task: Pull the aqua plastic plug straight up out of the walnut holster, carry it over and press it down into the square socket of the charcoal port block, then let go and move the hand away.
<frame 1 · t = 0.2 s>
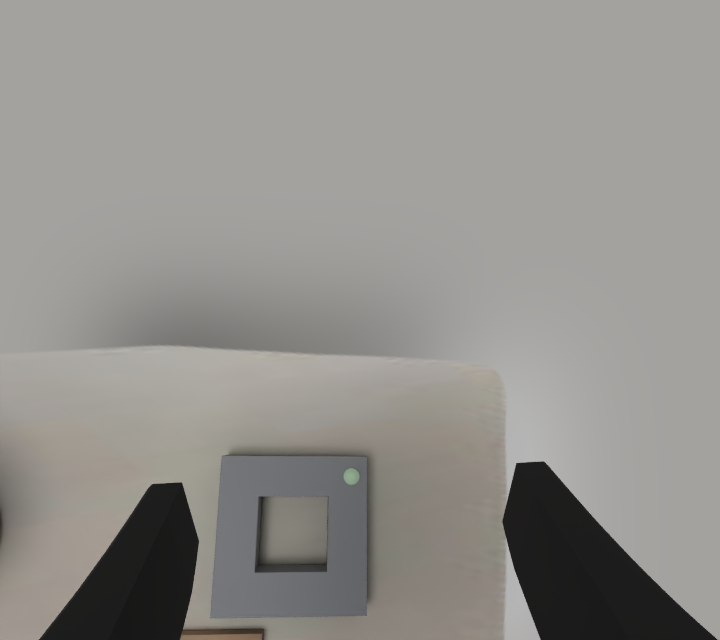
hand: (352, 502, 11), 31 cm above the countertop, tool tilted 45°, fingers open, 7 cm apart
port: (294, 528, 40), on the countertop
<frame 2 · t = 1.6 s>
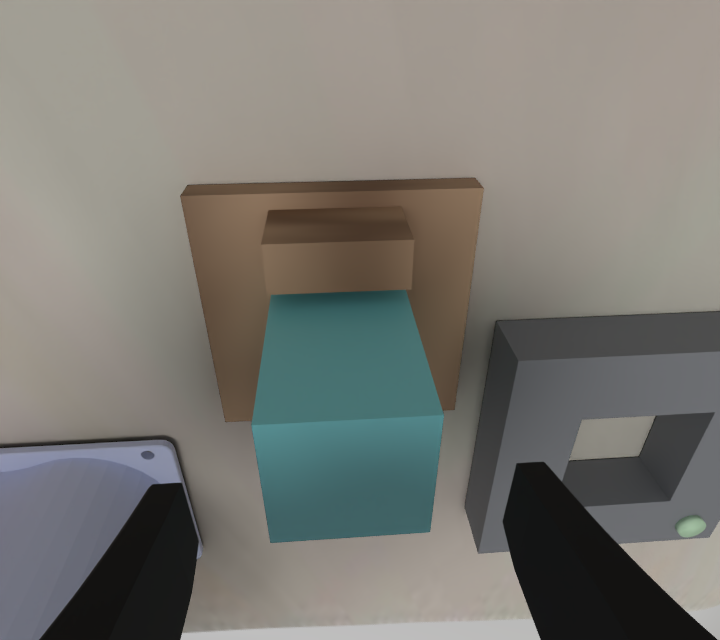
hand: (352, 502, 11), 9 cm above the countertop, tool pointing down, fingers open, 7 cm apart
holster: (337, 304, 18), on the countertop
port: (600, 419, 23), on the countertop
plug: (338, 319, 17), point 1 cm above the countertop, touching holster
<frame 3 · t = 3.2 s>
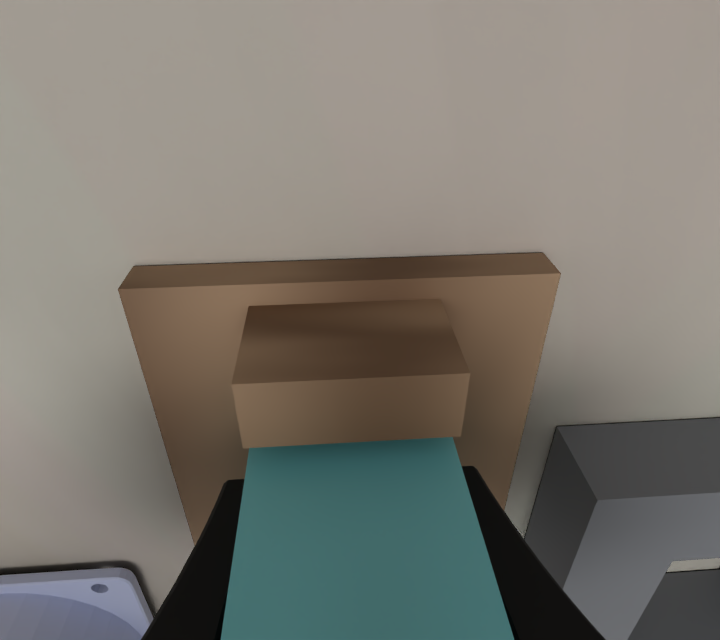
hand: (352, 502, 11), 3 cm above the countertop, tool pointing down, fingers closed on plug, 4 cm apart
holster: (346, 411, 14), on the countertop
port: (677, 532, 18), on the countertop
plug: (348, 438, 13), point 1 cm above the countertop, touching gripper, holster
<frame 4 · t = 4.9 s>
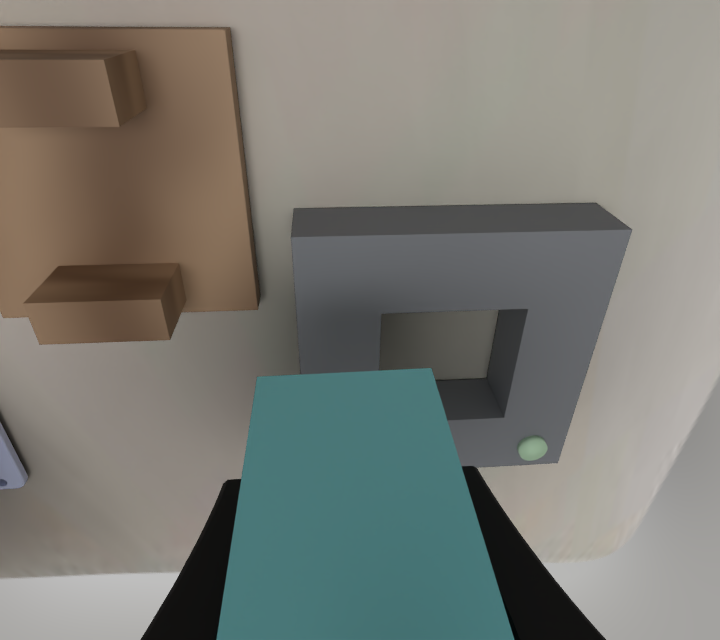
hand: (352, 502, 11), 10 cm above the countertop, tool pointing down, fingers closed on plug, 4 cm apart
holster: (110, 183, 17), on the countertop
port: (434, 332, 21), on the countertop
plug: (346, 434, 13), point 8 cm above the countertop, touching gripper
when the fingers open (3 cm above the countertop, at t = 7.0 s): plug drops 2 cm, resting in port.
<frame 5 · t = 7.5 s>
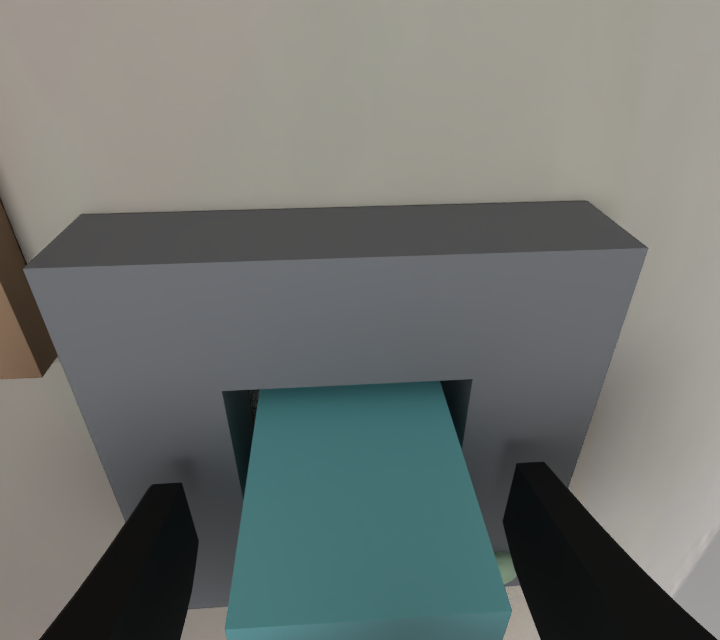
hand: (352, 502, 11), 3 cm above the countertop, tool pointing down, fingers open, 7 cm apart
port: (345, 398, 14), on the countertop
plug: (346, 394, 14), resting in port
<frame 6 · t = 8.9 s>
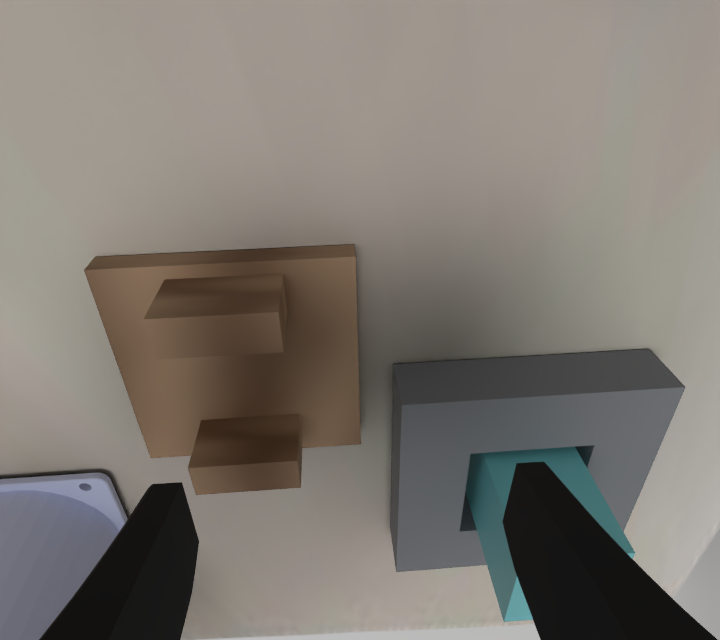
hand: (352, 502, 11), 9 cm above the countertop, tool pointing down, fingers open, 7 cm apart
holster: (244, 353, 20), on the countertop
port: (505, 448, 24), on the countertop
plug: (506, 445, 24), resting in port
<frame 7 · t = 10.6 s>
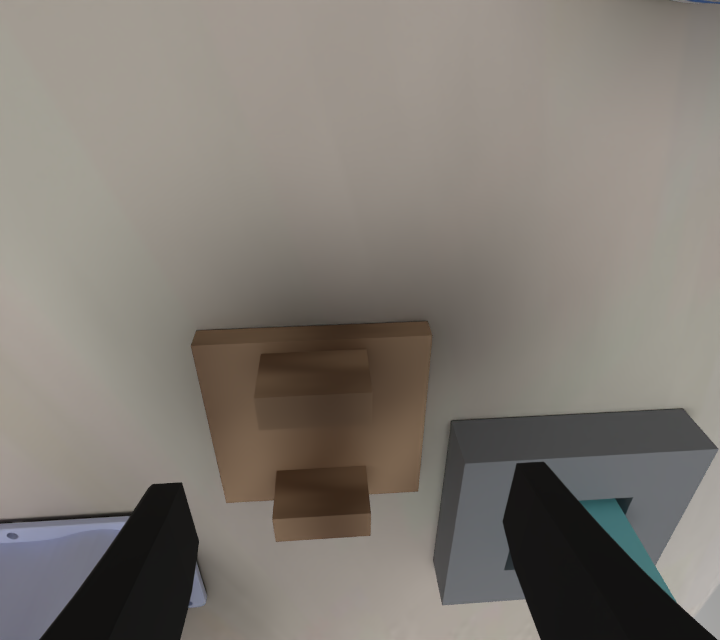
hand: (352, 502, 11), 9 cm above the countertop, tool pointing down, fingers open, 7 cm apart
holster: (318, 411, 22), on the countertop
port: (545, 492, 26), on the countertop
plug: (546, 490, 26), resting in port
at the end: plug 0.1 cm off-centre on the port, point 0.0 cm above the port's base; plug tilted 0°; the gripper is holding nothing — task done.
